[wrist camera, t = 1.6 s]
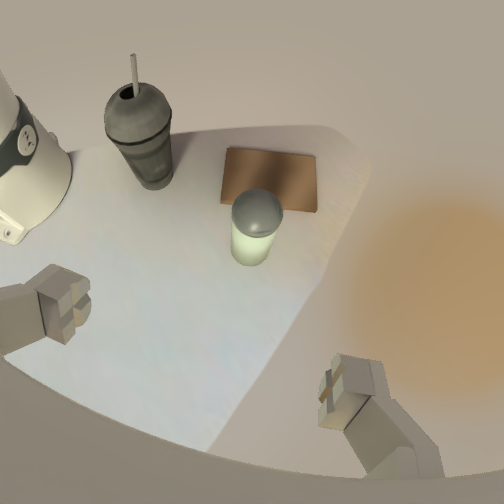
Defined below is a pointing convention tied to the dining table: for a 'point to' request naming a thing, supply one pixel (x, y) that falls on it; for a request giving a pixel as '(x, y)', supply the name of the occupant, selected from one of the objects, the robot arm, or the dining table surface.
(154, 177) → the beverage cup
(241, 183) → the walnut board
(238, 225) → the sage tube
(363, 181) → the dining table surface
